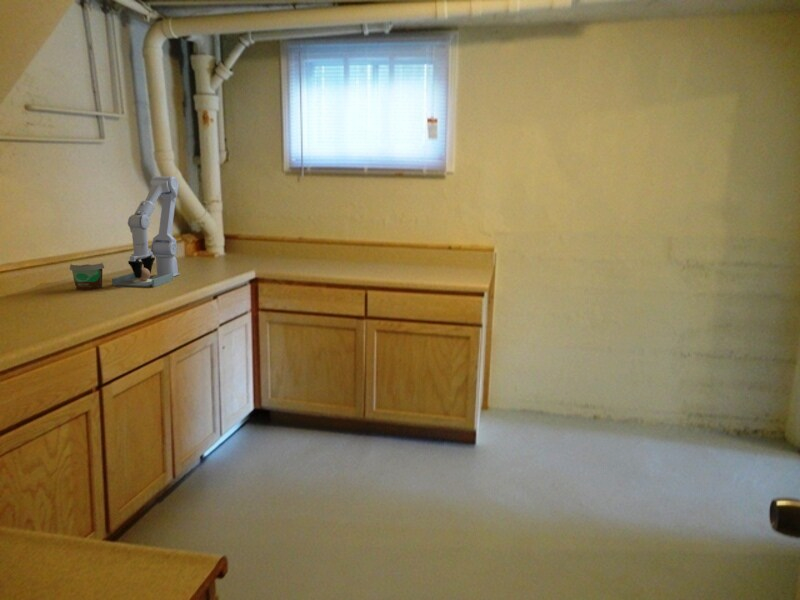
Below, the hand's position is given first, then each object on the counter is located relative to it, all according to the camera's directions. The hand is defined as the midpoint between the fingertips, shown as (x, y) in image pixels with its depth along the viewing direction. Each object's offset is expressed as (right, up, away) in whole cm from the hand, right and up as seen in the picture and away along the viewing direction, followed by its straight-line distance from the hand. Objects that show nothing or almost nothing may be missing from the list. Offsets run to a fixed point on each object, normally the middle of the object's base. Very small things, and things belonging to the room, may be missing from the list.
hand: (143, 276), depth 243 cm
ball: (0, +1, 0) cm, 1 cm away
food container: (-16, -6, -13) cm, 22 cm away
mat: (0, -3, +1) cm, 3 cm away
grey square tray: (0, -3, +1) cm, 3 cm away
